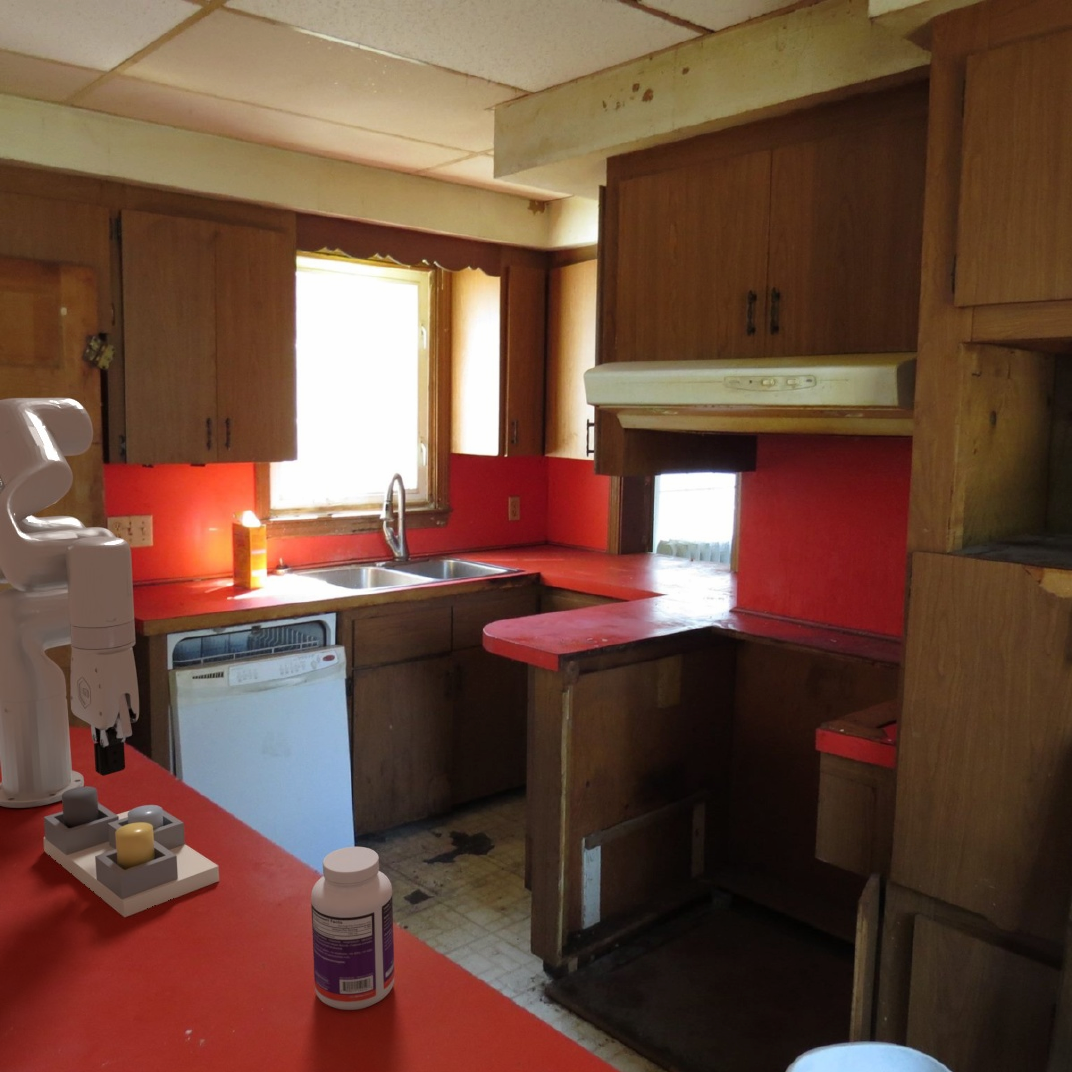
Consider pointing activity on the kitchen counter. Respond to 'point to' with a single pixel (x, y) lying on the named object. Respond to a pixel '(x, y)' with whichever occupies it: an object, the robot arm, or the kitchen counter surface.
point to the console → (137, 887)
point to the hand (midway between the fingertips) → (110, 770)
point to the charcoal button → (80, 806)
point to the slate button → (147, 815)
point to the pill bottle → (352, 930)
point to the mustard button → (134, 844)
